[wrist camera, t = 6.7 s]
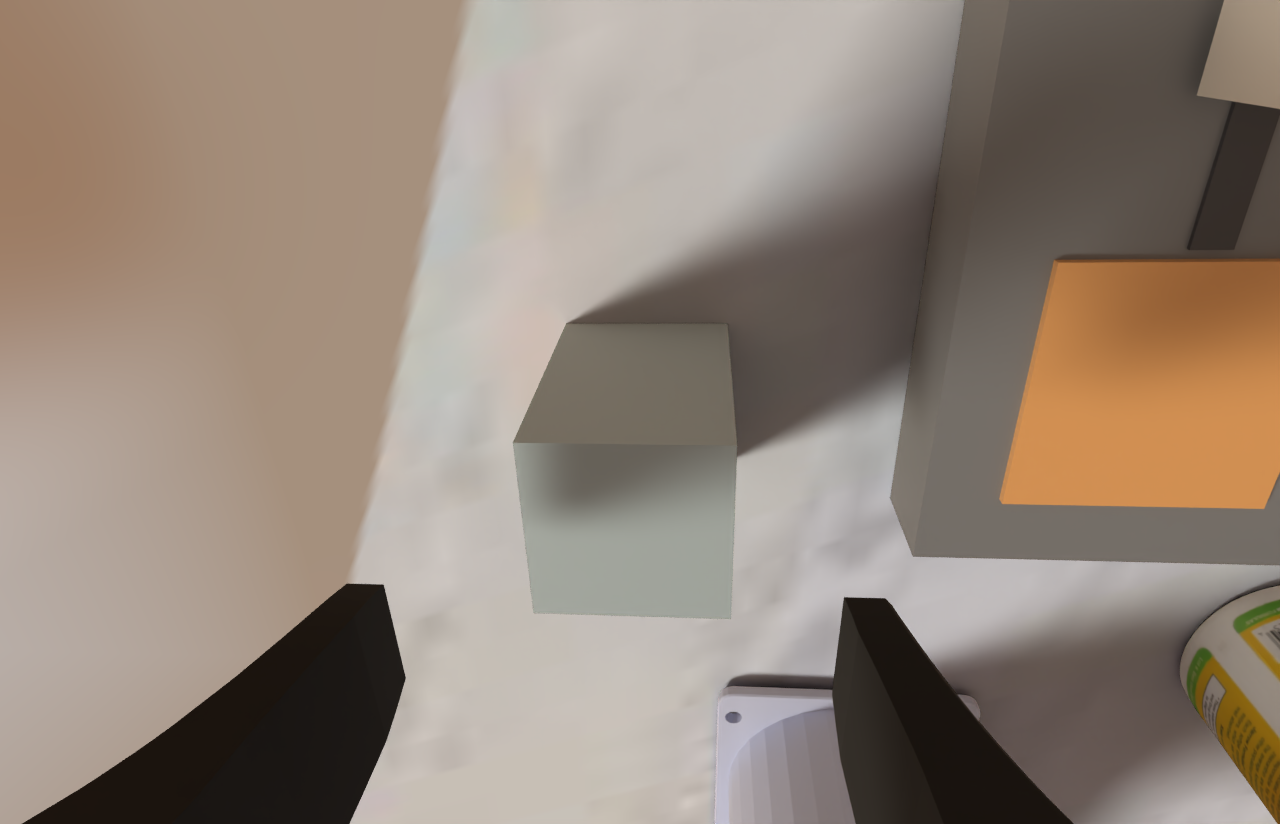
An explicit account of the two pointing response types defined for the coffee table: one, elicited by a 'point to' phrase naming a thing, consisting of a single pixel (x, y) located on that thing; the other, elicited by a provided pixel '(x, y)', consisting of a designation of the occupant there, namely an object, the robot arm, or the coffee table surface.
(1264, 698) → the supplement bottle
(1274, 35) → the lever
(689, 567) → the block
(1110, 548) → the switch box
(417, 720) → the coffee table surface
